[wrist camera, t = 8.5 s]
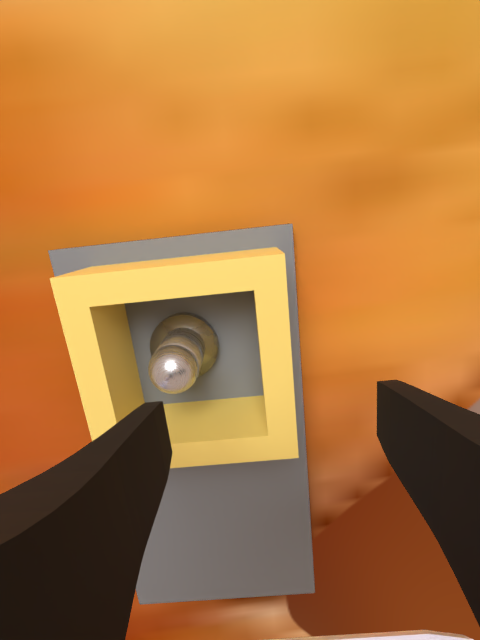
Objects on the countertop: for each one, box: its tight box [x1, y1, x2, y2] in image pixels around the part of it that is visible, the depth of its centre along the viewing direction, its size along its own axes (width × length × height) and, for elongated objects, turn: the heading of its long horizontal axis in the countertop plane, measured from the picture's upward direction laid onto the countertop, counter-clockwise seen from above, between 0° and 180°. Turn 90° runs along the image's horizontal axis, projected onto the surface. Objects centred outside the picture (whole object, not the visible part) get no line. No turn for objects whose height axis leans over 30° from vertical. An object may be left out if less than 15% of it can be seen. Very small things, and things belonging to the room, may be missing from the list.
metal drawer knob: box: [148, 312, 219, 394], centre depth 17 cm, size 4×4×4 cm
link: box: [50, 247, 299, 468], centre depth 17 cm, size 10×10×4 cm
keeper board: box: [48, 224, 315, 604], centre depth 22 cm, size 13×26×1 cm, turn 6°
